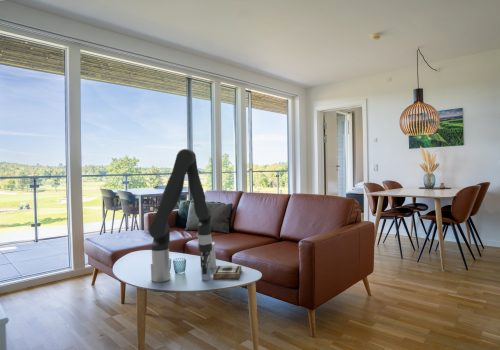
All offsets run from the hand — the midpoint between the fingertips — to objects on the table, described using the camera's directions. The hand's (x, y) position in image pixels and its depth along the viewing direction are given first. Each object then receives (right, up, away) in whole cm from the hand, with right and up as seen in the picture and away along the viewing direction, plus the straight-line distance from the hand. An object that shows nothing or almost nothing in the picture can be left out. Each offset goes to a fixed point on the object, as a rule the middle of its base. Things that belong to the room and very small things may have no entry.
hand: (206, 271), depth 181 cm
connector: (0, -4, 0) cm, 4 cm away
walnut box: (+11, -4, +6) cm, 13 cm away
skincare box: (-1, -4, +21) cm, 22 cm away
